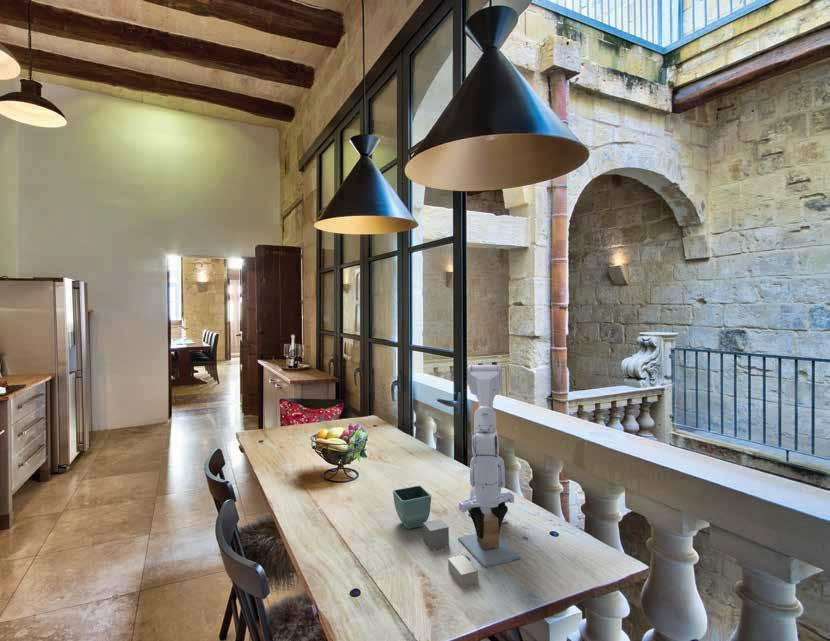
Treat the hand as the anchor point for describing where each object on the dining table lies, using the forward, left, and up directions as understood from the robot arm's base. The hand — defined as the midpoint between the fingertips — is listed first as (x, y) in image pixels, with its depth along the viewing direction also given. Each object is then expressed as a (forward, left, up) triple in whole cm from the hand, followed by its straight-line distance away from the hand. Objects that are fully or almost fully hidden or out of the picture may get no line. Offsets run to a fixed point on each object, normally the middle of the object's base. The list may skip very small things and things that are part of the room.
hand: (487, 534), depth 112 cm
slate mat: (0, 0, -3) cm, 3 cm away
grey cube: (-8, -11, -4) cm, 14 cm away
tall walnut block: (0, 0, -2) cm, 2 cm away
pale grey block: (+8, -11, -4) cm, 14 cm away
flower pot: (-20, -13, -4) cm, 24 cm away
